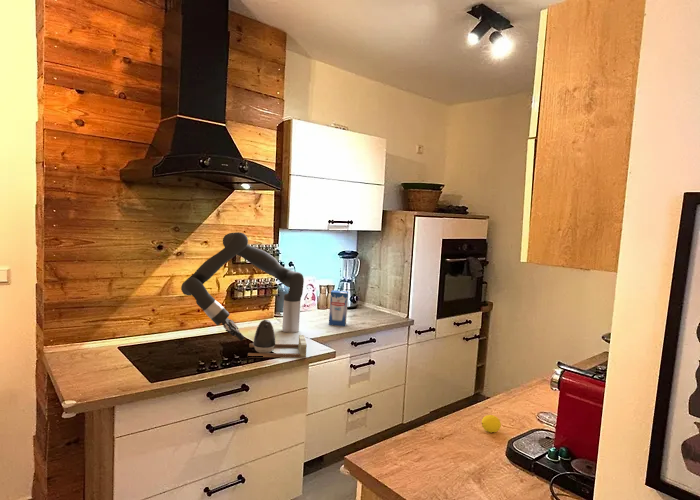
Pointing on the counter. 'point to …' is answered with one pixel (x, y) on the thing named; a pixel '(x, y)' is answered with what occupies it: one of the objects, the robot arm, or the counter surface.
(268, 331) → the dark grey rounded cone
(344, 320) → the milk carton
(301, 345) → the track
